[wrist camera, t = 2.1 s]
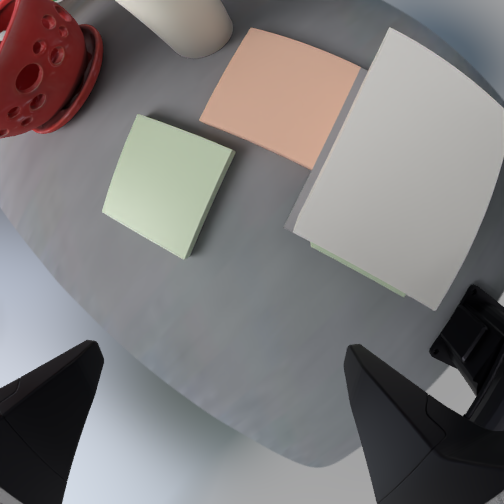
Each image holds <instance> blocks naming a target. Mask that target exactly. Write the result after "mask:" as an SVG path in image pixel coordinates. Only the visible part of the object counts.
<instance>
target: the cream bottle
mask: <svg viewBox="0 0 504 504" xmlns="http://www.w3.org/2000/svg"><path fill="white" fill-rule="evenodd" d="M115 1H117V2H118V3H119V4H120V5H122V6H123V7H124V8H125V9H127V10H128V11H129V12H130V13H132V14H133V15H134V16H135V17H136V18H138V19H139V20H140V21H141V22H142V23H144V24H145V25H146V26H147V27H148V28H149V29H151V30H152V31H153V32H154V33H155V34H156V35H157V36H159V37H160V38H161V39H162V40H163V41H164V42H165V43H166V44H168V45H169V46H170V47H171V48H172V49H173V50H174V51H175V52H176V53H177V54H179V55H180V56H182V57H185V58H190V59H196V58H203V57H206V56H209V55H211V54H213V53H215V52H217V51H218V50H220V49H221V48H222V47H223V46H224V45H225V44H226V43H227V42H228V41H229V39H230V37H231V35H232V33H233V23H232V21H231V19H230V17H229V15H228V13H227V11H226V9H225V7H224V5H223V4H222V2H221V0H115Z"/></svg>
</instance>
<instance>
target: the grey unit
mask: <svg viewBox="0 0 504 504" xmlns="http://www.w3.org/2000/svg"><path fill="white" fill-rule="evenodd" d="M503 158H504V108H503V107H502V106H501V105H500V104H498V103H497V102H496V101H495V100H494V99H493V98H492V97H491V96H490V95H489V94H488V93H486V92H485V91H484V90H483V89H482V88H481V87H479V86H478V85H477V84H476V83H475V82H473V81H472V80H471V79H470V78H468V77H467V76H466V75H465V74H463V73H462V72H461V71H459V70H458V69H457V68H455V67H454V66H452V65H451V64H450V63H448V62H447V61H445V60H444V59H443V58H441V57H440V56H438V55H437V54H435V53H434V52H432V51H430V50H429V49H427V48H426V47H424V46H422V45H421V44H419V43H417V42H416V41H414V40H412V39H411V38H409V37H407V36H405V35H403V34H402V33H400V32H398V31H396V30H394V29H392V28H390V27H389V29H388V31H387V33H386V36H385V38H384V40H383V42H382V44H381V46H380V48H379V50H378V52H377V54H376V56H375V58H374V60H373V62H372V64H371V66H370V68H369V70H368V71H367V70H365V69H363V68H360V70H359V73H358V75H357V77H356V79H355V81H354V83H353V85H352V88H351V90H350V92H349V94H348V96H347V98H346V100H345V102H344V104H343V107H342V109H341V111H340V113H339V115H338V117H337V119H336V121H335V123H334V125H333V127H332V130H331V132H330V134H329V136H328V138H327V140H326V142H325V144H324V146H323V148H322V150H321V152H320V154H319V156H318V158H317V160H316V162H315V165H314V167H313V169H312V171H311V173H310V175H309V177H308V179H307V181H306V183H305V185H304V187H303V189H302V191H301V193H300V195H299V197H298V199H297V201H296V203H295V205H294V207H293V209H292V211H291V213H290V215H289V217H288V219H287V221H286V223H285V225H284V227H283V228H285V229H287V230H289V231H291V232H293V233H295V234H297V235H299V236H301V237H303V238H305V239H306V240H308V241H310V242H311V247H312V248H314V249H316V250H318V251H320V252H322V253H324V254H326V255H327V256H329V257H331V258H333V259H335V260H337V261H339V262H341V263H342V264H344V265H346V266H348V267H350V268H352V269H353V270H355V271H357V272H359V273H361V274H363V275H364V276H366V277H368V278H370V279H372V280H374V281H375V282H377V283H379V284H381V285H383V286H384V287H386V288H388V289H390V290H391V291H393V292H395V293H397V294H399V295H400V296H402V297H404V296H405V295H406V294H407V295H408V296H410V297H412V298H414V299H415V300H417V301H419V302H420V303H422V304H424V305H425V306H427V307H429V308H431V309H432V310H434V311H436V309H437V308H438V306H439V305H440V303H441V301H442V300H443V298H444V296H445V295H446V293H447V291H448V289H449V288H450V286H451V284H452V282H453V281H454V279H455V277H456V275H457V273H458V271H459V269H460V268H461V266H462V264H463V262H464V260H465V258H466V256H467V254H468V252H469V249H470V247H471V245H472V243H473V241H474V239H475V236H476V234H477V232H478V230H479V227H480V225H481V223H482V220H483V218H484V215H485V213H486V210H487V207H488V205H489V202H490V199H491V197H492V194H493V191H494V188H495V185H496V182H497V179H498V175H499V172H500V169H501V165H502V162H503Z"/></svg>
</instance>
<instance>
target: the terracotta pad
mask: <svg viewBox="0 0 504 504" xmlns="http://www.w3.org/2000/svg"><path fill="white" fill-rule="evenodd" d="M360 68H361V67H359V66H357V65H355V64H353V63H351V62H349V61H347V60H344V59H342V58H340V57H338V56H335V55H333V54H330V53H328V52H326V51H323V50H321V49H318V48H315V47H313V46H310V45H307V44H305V43H302V42H299V41H296V40H293V39H290V38H287V37H284V36H280V35H277V34H274V33H270V32H267V31H263V30H259V29H256V28H252V27H251V28H250V30H249V31H248V33H247V34H246V36H245V38H244V39H243V41H242V42H241V44H240V46H239V47H238V49H237V51H236V52H235V54H234V56H233V58H232V59H231V61H230V63H229V64H228V66H227V68H226V70H225V72H224V73H223V75H222V77H221V79H220V81H219V82H218V84H217V86H216V88H215V90H214V92H213V94H212V96H211V98H210V99H209V101H208V103H207V105H206V107H205V109H204V111H203V113H202V115H201V117H200V119H199V121H201V122H202V123H204V124H207V125H209V126H212V127H215V128H217V129H220V130H222V131H225V132H227V133H230V134H232V135H235V136H237V137H239V138H242V139H244V140H247V141H249V142H251V143H254V144H256V145H258V146H261V147H263V148H265V149H267V150H270V151H272V152H274V153H276V154H278V155H280V156H283V157H285V158H287V159H289V160H291V161H293V162H295V163H297V164H299V165H301V166H303V167H305V168H307V169H309V170H311V171H312V169H313V167H314V165H315V162H316V160H317V158H318V156H319V154H320V152H321V150H322V148H323V146H324V144H325V142H326V140H327V138H328V136H329V134H330V132H331V130H332V127H333V125H334V123H335V121H336V119H337V117H338V115H339V113H340V111H341V109H342V107H343V104H344V102H345V100H346V98H347V96H348V94H349V92H350V90H351V88H352V85H353V83H354V81H355V79H356V77H357V75H358V73H359V70H360Z"/></svg>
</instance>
